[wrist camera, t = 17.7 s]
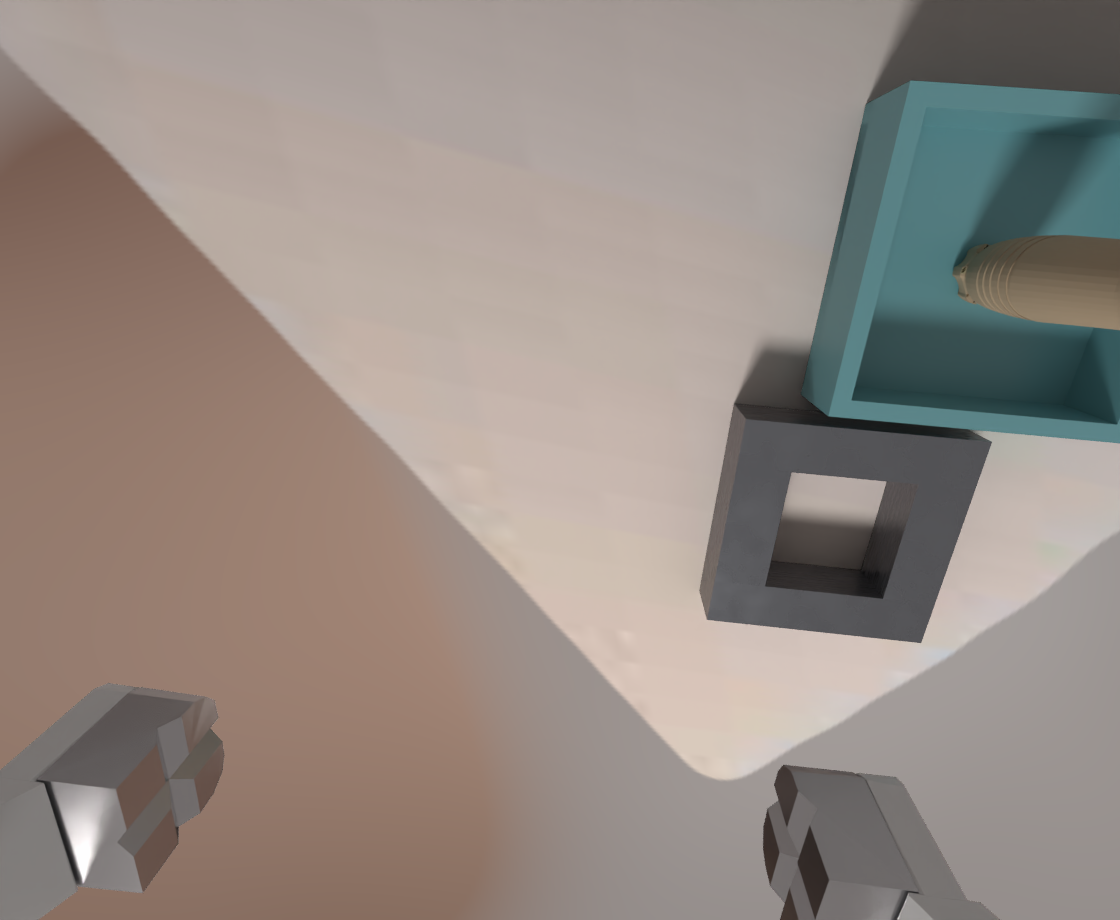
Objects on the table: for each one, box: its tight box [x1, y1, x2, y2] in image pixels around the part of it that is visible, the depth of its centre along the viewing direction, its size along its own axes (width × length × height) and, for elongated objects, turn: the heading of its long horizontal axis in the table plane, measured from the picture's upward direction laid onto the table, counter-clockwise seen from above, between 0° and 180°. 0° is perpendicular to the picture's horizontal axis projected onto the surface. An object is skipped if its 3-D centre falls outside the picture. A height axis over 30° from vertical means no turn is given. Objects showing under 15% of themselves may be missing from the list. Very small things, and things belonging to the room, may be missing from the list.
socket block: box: [700, 404, 992, 643], centre depth 38 cm, size 14×14×4 cm
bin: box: [801, 81, 1120, 443], centre depth 32 cm, size 16×16×5 cm
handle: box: [952, 235, 1120, 330], centre depth 26 cm, size 5×6×15 cm
